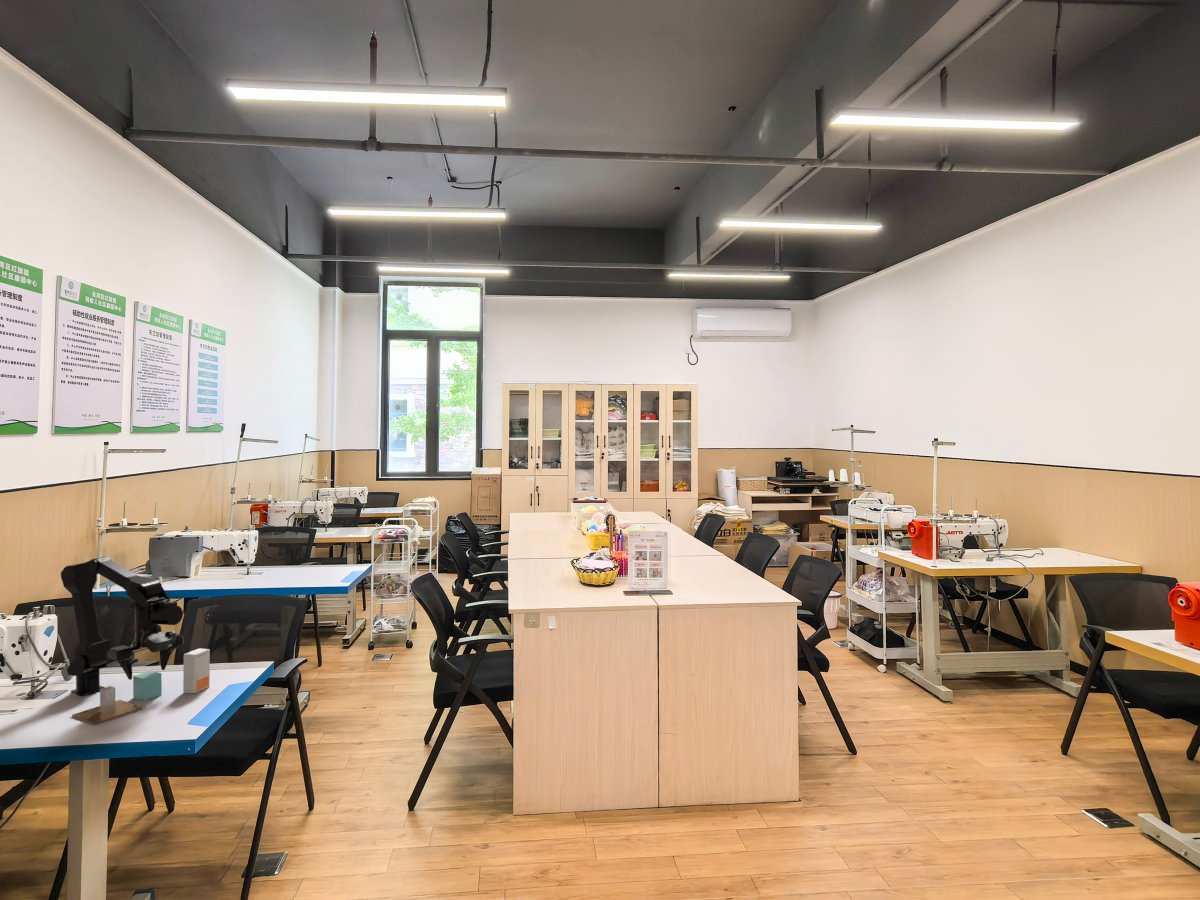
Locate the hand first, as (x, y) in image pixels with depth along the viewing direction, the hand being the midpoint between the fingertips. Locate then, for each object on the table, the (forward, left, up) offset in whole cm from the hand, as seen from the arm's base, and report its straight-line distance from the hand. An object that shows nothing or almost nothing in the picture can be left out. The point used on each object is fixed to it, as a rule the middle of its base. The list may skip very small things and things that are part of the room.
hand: (147, 674), depth 196 cm
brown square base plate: (+3, -12, -7) cm, 14 cm away
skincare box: (+8, +10, -7) cm, 15 cm away
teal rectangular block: (0, 0, -7) cm, 7 cm away
